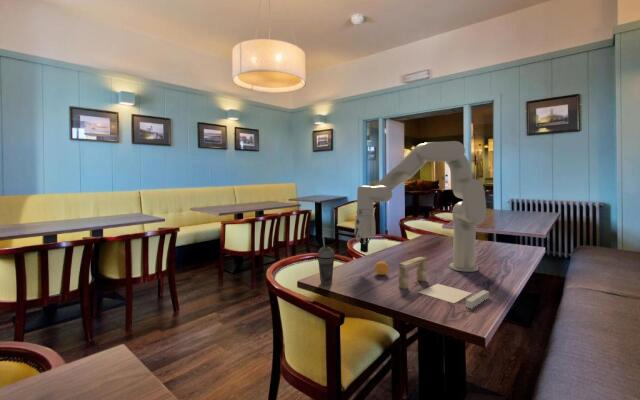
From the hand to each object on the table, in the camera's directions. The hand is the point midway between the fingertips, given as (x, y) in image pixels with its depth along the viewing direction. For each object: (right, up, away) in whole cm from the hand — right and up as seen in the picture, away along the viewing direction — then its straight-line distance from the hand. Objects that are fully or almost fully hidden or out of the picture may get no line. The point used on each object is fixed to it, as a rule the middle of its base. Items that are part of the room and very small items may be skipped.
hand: (364, 251), depth 152 cm
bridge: (+17, -10, -18) cm, 27 cm away
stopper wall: (+35, -12, -38) cm, 53 cm away
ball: (+7, -6, -7) cm, 11 cm away
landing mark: (+27, -11, -29) cm, 41 cm away
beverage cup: (-18, -11, -17) cm, 27 cm away
